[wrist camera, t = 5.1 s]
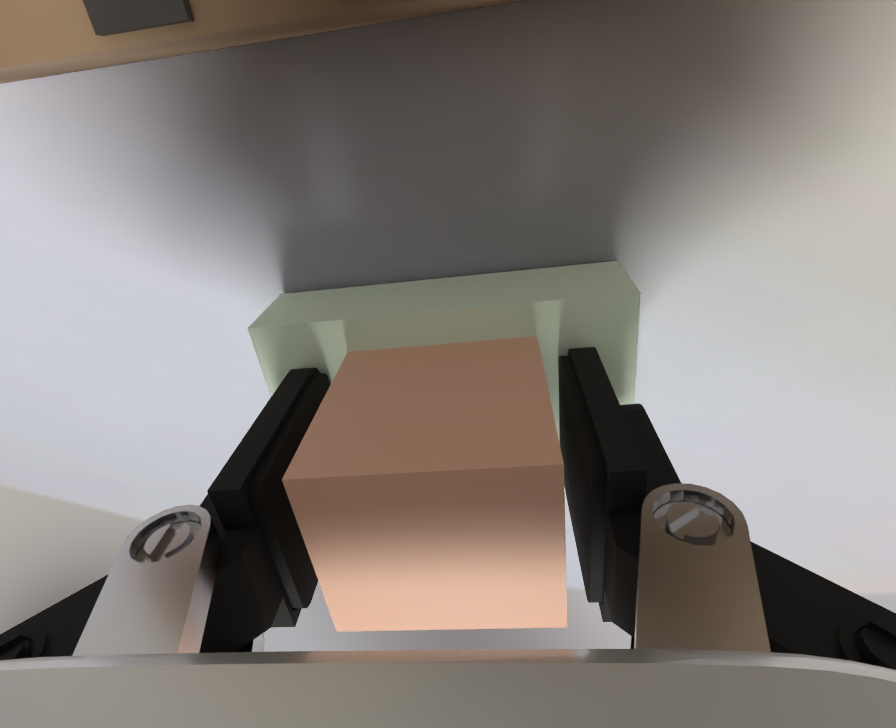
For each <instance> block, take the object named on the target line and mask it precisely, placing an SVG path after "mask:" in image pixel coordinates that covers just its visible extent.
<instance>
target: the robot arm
mask: <svg viewBox="0 0 896 728" xmlns="http://www.w3.org/2000/svg"><path fill="white" fill-rule="evenodd" d="M329 387H330V382H329V378H328V376H327V374H326V373H320V372H319V370H318V369H317V368H316V367H315V368H301V369H291V370H290V371H289V372H288V373H287V375H286V376H285V378H284V379H283V381H282V382H281V384H280V385H279V386H278V388H277V389H276V391H275V392H274V394H273V395H272V397H271V398H270V400H269V401H268V403H267V404H266V406H265V407H264V408H263V410H262V411H261V413H260V414H259V416H258V417H257V419H256V420H255V422H254V423H253V425H252V426H251V428H250V429H249V431H248V432H247V433H246V435H245V436H244V438H243V439H242V441H241V442H240V444H239V445H238V447H237V448H236V450H235V451H234V453H233V454H232V455H231V457H230V458H229V460H228V461H227V463H226V464H225V466H224V467H223V469H222V470H221V472H220V473H219V475H218V476H217V478H216V479H215V480H214V482H213V483H212V485H211V486H210V488H209V489H208V491H207V492H208V495H207V496H206V498H205V499H204V501H203V502H202V504H201V505H200V506H195V505H184V506H177V507H173V508H170V509H167V510H164V511H162V512H160V513H158V514H156V515H154V516H152V517H150V518H149V519H147V520H146V521H144V522H143V523H142V524H140V525H139V526H137V527H136V528H135V529H134V530H133V532H131V533H130V535H129V536H128V537H127V538H126V540H125V541H124V543H123V545H122V546H121V548H120V550H119V553H118V555H117V557H116V559H115V561H114V564H113V566H112V568H111V570H110V572H109V574H108V575H107V576H105V577H103V578H101V579H99V580H97V581H96V582H94V583H92V584H90V585H88V586H87V587H85V588H83V589H81V590H80V591H78V592H76V593H74V594H72V595H70V596H69V597H67V598H65V599H63V600H61V601H60V602H58V603H56V604H54V605H53V606H51V607H49V608H47V609H45V610H44V611H42V612H40V613H38V614H36V615H35V616H33V617H31V618H29V619H27V620H25V621H24V622H22V623H20V624H18V625H17V626H15V627H13V628H11V629H9V630H7V631H6V632H4V633H2V634H0V728H896V613H893V612H891V611H890V610H887V609H886V608H883V607H882V606H880V605H877V604H875V603H873V602H871V601H869V600H867V599H865V598H863V597H861V596H859V595H857V594H855V593H853V592H851V591H849V590H847V589H845V588H843V587H841V586H839V585H837V584H835V583H833V582H831V581H829V580H827V579H825V578H823V577H821V576H819V575H817V574H815V573H813V572H811V571H809V570H807V569H805V568H803V567H801V566H799V565H797V564H795V563H793V562H791V561H789V560H787V559H785V558H783V557H781V556H779V555H777V554H775V553H773V552H771V551H769V550H767V549H765V548H763V547H761V546H759V545H757V544H755V543H753V542H751V541H750V537H749V531H748V526H747V523H746V520H745V518H744V515H743V513H742V512H741V511H740V510H739V508H738V507H737V506H736V505H735V504H734V503H733V502H732V501H730V500H729V499H727V498H726V497H725V496H723V495H722V494H720V493H718V492H715V491H713V490H711V489H709V488H706V487H702V486H698V485H693V484H682V483H681V482H680V480H679V478H678V476H677V474H676V472H675V470H674V468H673V466H672V464H671V462H670V460H669V458H668V456H667V454H666V452H665V450H664V448H663V446H662V444H661V442H660V439H659V437H658V435H657V433H656V431H655V429H654V427H653V425H652V423H651V421H650V419H649V417H648V415H647V413H646V411H645V409H644V408H643V406H642V405H641V404H625V405H620V404H619V401H618V399H617V397H616V394H615V392H614V389H613V387H612V385H611V382H610V380H609V378H608V375H607V373H606V371H605V368H604V366H603V364H602V361H601V359H600V357H599V354H598V352H597V350H596V348H595V347H586V348H572V349H568V355H567V356H559V429H560V448H561V453H562V458H563V463H564V486H565V491H566V496H567V501H568V506H569V511H570V516H571V521H572V526H573V531H574V536H575V541H576V546H577V551H578V556H579V561H580V566H581V571H582V576H583V581H584V586H585V591H586V596H587V600H588V602H599V606H600V610H601V615H602V619H603V622H613V623H614V624H616V625H617V626H619V627H620V628H621V629H623V630H624V631H625V632H627V633H628V634H630V635H631V639H630V649H552V650H551V649H548V650H545V649H540V650H538V649H537V650H397V651H396V650H395V651H394V650H390V651H302V652H300V651H299V652H263V650H264V632H265V631H266V630H268V629H269V628H271V627H295V626H296V622H297V620H298V617H299V614H300V611H301V608H307V607H308V606H309V605H310V603H311V600H312V597H313V594H314V591H315V588H316V585H317V582H318V578H317V575H316V573H315V570H314V567H313V564H312V562H311V559H310V556H309V553H308V551H307V548H306V545H305V542H304V540H303V537H302V534H301V531H300V529H299V526H298V523H297V520H296V518H295V515H294V512H293V509H292V507H291V504H290V501H289V498H288V495H287V493H286V490H285V487H284V484H283V482H282V478H283V476H284V474H285V473H286V471H287V469H288V467H289V465H290V463H291V461H292V459H293V457H294V455H295V453H296V451H297V449H298V447H299V445H300V443H301V441H302V439H303V437H304V436H305V434H306V432H307V430H308V428H309V426H310V424H311V422H312V420H313V418H314V416H315V414H316V412H317V410H318V408H319V406H320V404H321V402H322V400H323V398H324V397H325V395H326V393H327V391H328V389H329Z"/></svg>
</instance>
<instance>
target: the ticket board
mask: <svg viewBox="0 0 896 728" xmlns="http://www.w3.org/2000/svg"><path fill="white" fill-rule="evenodd" d="M517 1H523V0H0V84H1V83H7V82H14V81H20V80H26V79H33V78H39V77H45V76H51V75H58V74H64V73H70V72H77V71H83V70H89V69H95V68H102V67H108V66H114V65H121V64H127V63H133V62H140V61H146V60H152V59H158V58H165V57H171V56H177V55H184V54H190V53H196V52H202V51H209V50H215V49H221V48H228V47H234V46H240V45H246V44H253V43H259V42H265V41H272V40H278V39H284V38H290V37H297V36H303V35H309V34H316V33H322V32H328V31H334V30H341V29H347V28H353V27H360V26H366V25H372V24H379V23H385V22H391V21H397V20H404V19H410V18H416V17H423V16H429V15H435V14H441V13H448V12H454V11H460V10H467V9H473V8H479V7H485V6H492V5H498V4H504V3H511V2H517Z"/></svg>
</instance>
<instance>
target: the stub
mask: <svg viewBox="0 0 896 728" xmlns="http://www.w3.org/2000/svg"><path fill="white" fill-rule="evenodd" d="M639 309H640V291H639V290H638V288H637V287H636V286H635V284H634V283H633V282H632V280H631V279H630V278H629V276H628V275H627V274H626V272H625V271H624V270H623V268H622V267H621V266H620V264H619V263H618V262H617V261H610V262H600V263H589V264H579V265H569V266H559V267H549V268H539V269H529V270H519V271H509V272H498V273H488V274H478V275H468V276H458V277H448V278H438V279H428V280H417V281H407V282H397V283H387V284H377V285H367V286H357V287H347V288H336V289H326V290H316V291H306V292H296V293H286V294H280V295H279V296H278V298H277V299H276V300H275V301H274V302H273V303H272V304H271V305H270V306H269V307H268V308H267V309H266V310H265V311H264V312H263V313H262V314H261V315H260V316H259V317H258V318H257V319H256V320H255V321H254V322H253V323H252V324H251V325H250V326H249V327H248V331H249V334H250V337H251V339H252V342H253V345H254V348H255V351H256V354H257V357H258V360H259V363H260V366H261V369H262V372H263V375H264V378H265V381H266V383H267V386H268V389H269V392H270V395H271V397H272V395H273V394H274V392H275V391H276V389H277V388H278V386H279V385H280V384H281V382H282V381H283V379H284V378H285V376H286V375H287V373H288V372H289V371H290V370H291V369H301V368H315V367H316V368H317V369H318V370H319V372H320V373H326V374H327V376H328V378H329V382H330V387H329V389H328V391H327V393H326V395H325V397H324V398H323V400H322V402H321V404H320V406H319V408H318V410H317V412H316V414H315V416H314V418H313V420H312V422H311V424H310V426H309V428H308V430H307V432H306V434H305V436H304V437H303V439H302V441H301V443H300V445H299V447H298V449H297V451H296V453H295V455H294V457H293V459H292V461H291V463H290V465H289V467H288V469H287V471H286V473H285V474H284V476H283V478H282V482H283V484H284V487H285V490H286V493H287V495H288V498H289V501H290V504H291V507H292V509H293V512H294V515H295V518H296V520H297V523H298V526H299V529H300V531H301V534H302V537H303V540H304V542H305V545H306V548H307V551H308V553H309V556H310V559H311V562H312V564H313V567H314V570H315V573H316V575H317V578H318V581H319V584H320V587H321V589H322V592H323V595H324V598H325V600H326V603H327V606H328V608H329V611H330V614H331V617H332V619H333V622H334V625H335V628H336V631H337V632H338V631H339V632H340V631H387V630H388V631H390V630H391V631H392V630H443V629H498V628H551V627H567V593H566V545H565V496H564V492H566V491H565V486H564V463H563V458H562V453H561V448H560V429H559V356H567V355H568V349H572V348H586V347H595V348H596V350H597V352H598V354H599V357H600V359H601V361H602V364H603V366H604V368H605V371H606V373H607V375H608V378H609V380H610V382H611V385H612V387H613V389H614V392H615V394H616V397H617V399H618V401H619V404H620V405H625V404H634V394H635V377H636V360H637V343H638V326H639Z"/></svg>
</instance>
